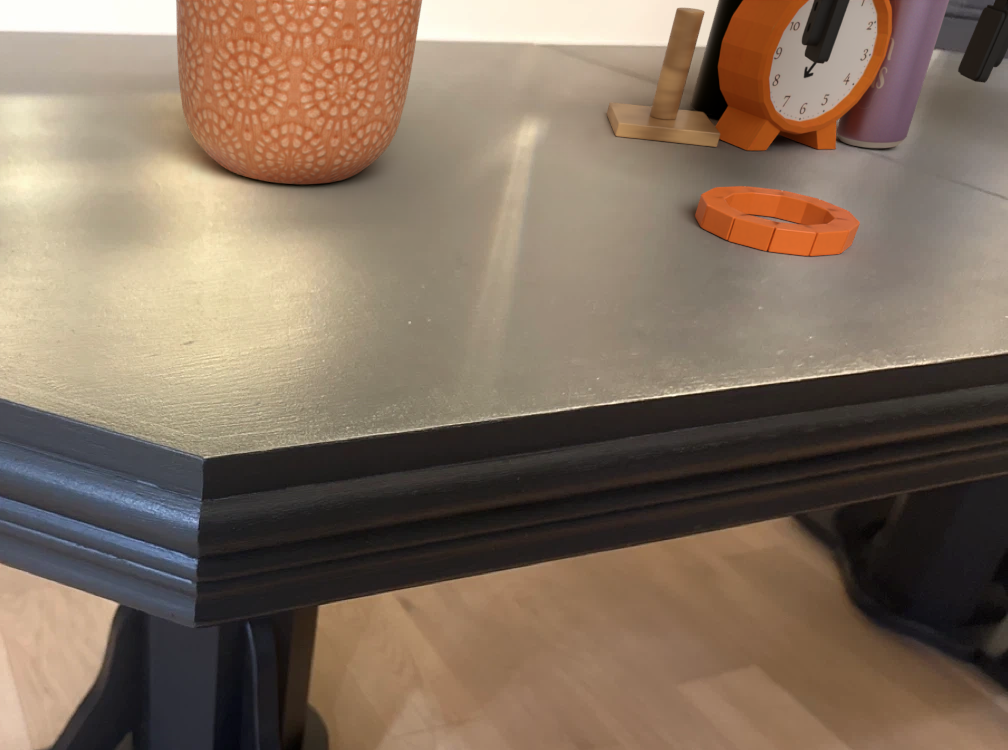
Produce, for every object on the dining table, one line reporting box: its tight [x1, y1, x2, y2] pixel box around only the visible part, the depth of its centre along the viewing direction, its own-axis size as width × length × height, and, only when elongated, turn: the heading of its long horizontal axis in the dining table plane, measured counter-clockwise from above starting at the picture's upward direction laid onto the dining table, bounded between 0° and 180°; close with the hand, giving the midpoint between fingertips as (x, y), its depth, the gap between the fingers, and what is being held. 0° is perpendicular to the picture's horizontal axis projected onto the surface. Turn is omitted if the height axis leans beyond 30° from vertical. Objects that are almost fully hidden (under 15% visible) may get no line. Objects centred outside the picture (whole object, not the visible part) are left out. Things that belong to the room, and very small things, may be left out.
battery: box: [690, 0, 743, 118], centre depth 99 cm, size 7×7×20 cm
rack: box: [606, 7, 720, 148], centre depth 93 cm, size 9×9×10 cm
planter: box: [175, 0, 423, 185], centre depth 73 cm, size 17×17×15 cm
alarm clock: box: [714, 0, 892, 151], centre depth 89 cm, size 13×6×20 cm, turn 108°
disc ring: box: [694, 185, 861, 257], centre depth 72 cm, size 10×10×2 cm
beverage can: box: [836, 0, 950, 149], centre depth 93 cm, size 6×6×15 cm
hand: (892, 68), depth 66 cm, fingers open, 9 cm apart
